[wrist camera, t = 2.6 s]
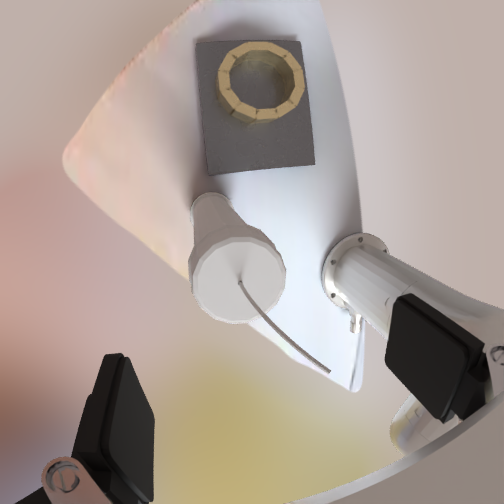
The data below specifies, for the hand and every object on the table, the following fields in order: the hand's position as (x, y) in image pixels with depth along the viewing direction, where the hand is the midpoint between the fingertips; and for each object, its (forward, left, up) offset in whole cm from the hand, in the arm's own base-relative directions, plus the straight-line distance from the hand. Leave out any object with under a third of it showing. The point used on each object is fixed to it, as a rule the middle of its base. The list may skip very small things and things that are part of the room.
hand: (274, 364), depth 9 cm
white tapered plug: (0, 0, -31) cm, 31 cm away
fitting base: (+14, -7, -31) cm, 35 cm away
